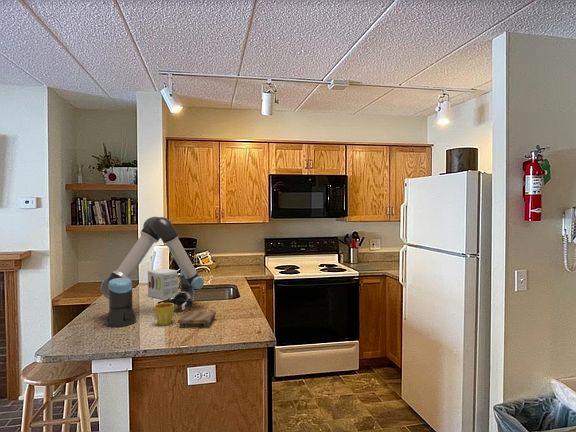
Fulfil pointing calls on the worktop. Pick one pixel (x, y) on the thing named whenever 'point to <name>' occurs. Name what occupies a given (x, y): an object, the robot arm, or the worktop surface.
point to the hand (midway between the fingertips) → (170, 307)
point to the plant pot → (164, 313)
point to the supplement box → (162, 283)
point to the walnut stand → (197, 318)
